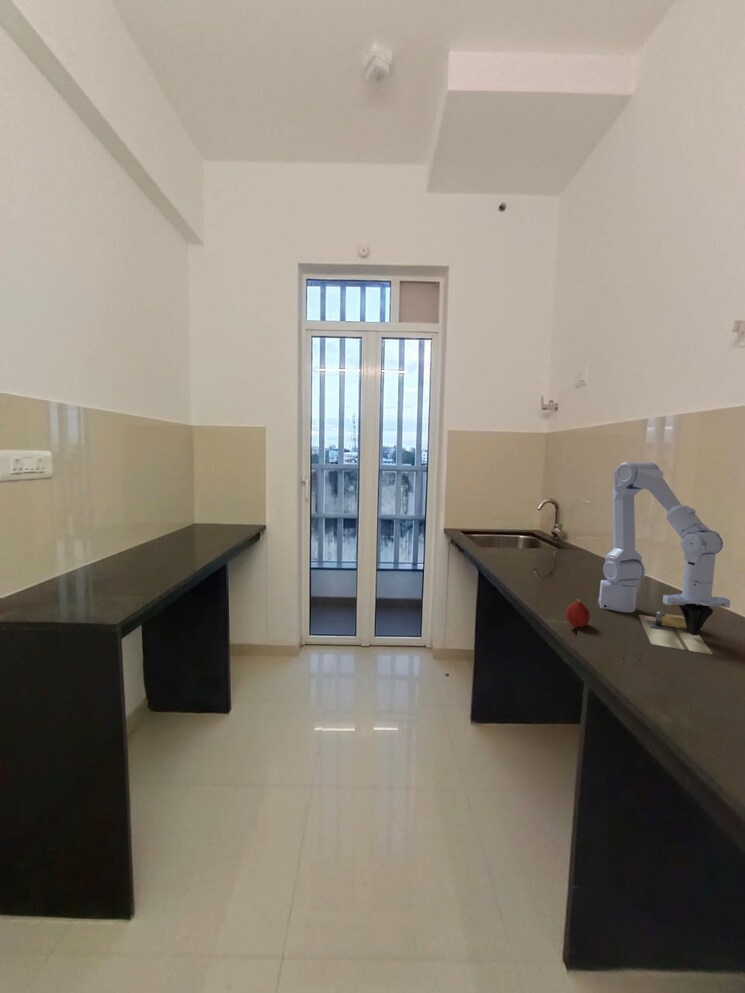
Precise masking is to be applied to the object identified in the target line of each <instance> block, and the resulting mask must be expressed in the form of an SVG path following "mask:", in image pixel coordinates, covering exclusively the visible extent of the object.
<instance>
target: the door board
mask: <svg viewBox="0 0 745 993" xmlns="http://www.w3.org/2000/svg"><path fill="white" fill-rule="evenodd" d="M638 617H639V620H640V622H641V624H642V627H643V629H644V631H645V633H646V636H647V638H648V640H649V642H650V644H651V645H655V646H659V647H666V648H672V649H677V650H685V651H690V652H695V653H702V654H707V655H712V656H713V654H714V653H713V652H712V651H711V649H710V648H709V647H708V645H707V644H706V643H705V641H704V640H703V639H702V637H701V636H700V634H699V635H691V634H690V633H688V632H687V629H684V628H675V627H666V626H659V625H656V624H655V623H656V616H649V615H644V614H638Z"/></svg>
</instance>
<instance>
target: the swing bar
mask: <svg viewBox="0 0 745 993" xmlns="http://www.w3.org/2000/svg"><path fill="white" fill-rule="evenodd" d="M655 617H656V623H655V624H656V625H659V626H666V627H675V628H684V629H687V626H686V622H685V618H684V615H680V614H669V613H666V612H665V611H662V610H657V611H656V615H655ZM702 631H703V627H702V628H701V630H700V632H702Z"/></svg>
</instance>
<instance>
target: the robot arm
mask: <svg viewBox="0 0 745 993" xmlns="http://www.w3.org/2000/svg"><path fill="white" fill-rule="evenodd" d="M613 480H614V481H613V482H614V483H613V486H612V534H613V535H612V538H613V539H612V543H613V549H612V550H611V551H610V552H608V553H607V554H606V555H605V562H604V564H603V567H602V568H603V569H602V570H603V575H604V577H605V579H601V580H600V584H599V597H598V599H597V600H598V601H597V604H598V605H599V608H600V609H604V610H611V611H616V612H619V613H620V612H621V613H633V612H635V611H636V601H637V600H636V599H637V589H638V584H639V583H640V580H642V579H644V576H645V574H646V573H645V572H646V570H645V569H646V567H645V566H644V563H643V557H642V555H641V554H640V553H639V552H638V551H637V550H636V533H635V532H636V528H635V526H636V525H635V521H636V519H635V496H636V495H637V494H638V493H639V492H640V491H642V490H647V491H648V492H650V493H651V495H652V496H653V497H654V498H655V499H656V500H657V502H658V503H660V505H661V506H662V508H664V509H665V511H666V512H667V513H666V517H665V518H666V519H667V521H668V523H669V524H670V525H671V527H672V528H673V529H674V530H675V532H676V533H677V534H678V536H679V538H680V539H681V540H680V546H681V549H682V551H683V558H684V560H685V561H684V562H685V563H684V571H683V572H684V573H683V580H682V581H683V583H682V591H681V593H676V594H663V595H662V603H663V604H664V605H667V606H672V605H675V606H676V605H678V606H679V609H680V611H681V612H682V616H684V618H685V622H686V626H687V632H688V633H690V634H691V635H699V636H700V632H701V628H702V629H703V626H704V624H705V623H706V621H708V619H709V617H710V616H711V615H713V613H714V608H712V607H723V608H729V609H730V606H731V599H729V598H726V597H722V596H714V595H713V586H714V585H713V583H714V576H715V568H716V567H715V566H716V554H719V553H720V552H721V551H722V550H723V547H724V541H723V539H722V538H723V537H721V535H720V533H719V532H717V531H715V530H711V529H710V528H708V525H706V524H704V523H703V522H702V520H701V519H700V518H699V516H698V515H697V514H696V509H694V508H693V507H690V506H688V505H682V504H681V502H680V501H679V499H678V497H677V496H676V495H675V493H674V492H673V490H672V489H671V487H670V486H669V484H668V483H667V482H666V480H665V479H664V472H663V470H661V469H660V467H659V466H658V465H657V464H656V463H654V462H651V461H650V462H630V461H625V462H622V463H620V464H619V465H618V466H617V467H616V468H615V469H614V471H613ZM712 595H713V596H712Z"/></svg>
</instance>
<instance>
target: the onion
mask: <svg viewBox="0 0 745 993" xmlns="http://www.w3.org/2000/svg"><path fill="white" fill-rule="evenodd" d="M565 618H566V619H565V620H567V622H568V624H570V626H572V627H573V628H574V627H575V628H577V629H578V628H584V627H585V626H587V625H588V624H589V622H590V619H591V615H590V611H589V609H588V608H587V606H586V605H585V604H584V603H582V601H581V600H580V599H576V600H575V602H572V603H571V604H570V605H569V606H567V608H566V611H565ZM575 628H574V629H575Z"/></svg>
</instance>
